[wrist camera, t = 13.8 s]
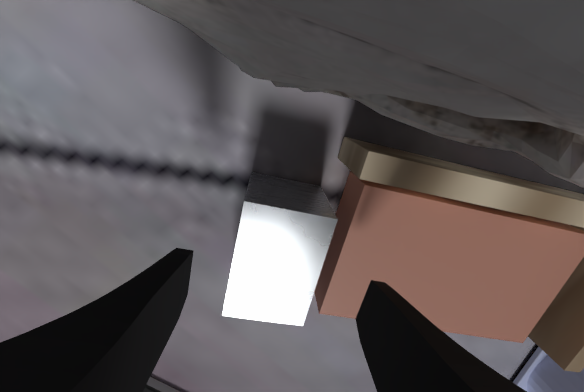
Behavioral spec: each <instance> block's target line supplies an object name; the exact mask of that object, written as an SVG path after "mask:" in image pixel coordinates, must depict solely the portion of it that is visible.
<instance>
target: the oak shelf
mask: <svg viewBox="0 0 584 392" xmlns="http://www.w3.org/2000/svg"><path fill="white" fill-rule="evenodd" d="M338 159H339V160H340V161H341V162H342V163H343V164H344V165H346V166H347V167H348V168H349V169H350V170H351V171H352V172H353V173H354V174H355V175H356V176H357V177H358V178H359V179H362V180H366V181H371V182H376V183H380V184H385V185H389V186H394V187H399V188H403V189H408V190H412V191H417V192H422V193H426V194H431V195H435V196H440V197H445V198H449V199H454V200H458V201H463V202H468V203H472V204H477V205H481V206H486V207H491V208H495V209H500V210H504V211H509V212H514V213H518V214H523V215H527V216H532V217H537V218H541V219H546V220H550V221H555V222H560V223H564V224H569V225H572V226H573V227H575V228H577V229H580V230H582V231H584V194H582V193H577V192H573V191H569V190H565V189H561V188H556V187H552V186H548V185H544V184H540V183H536V182H531V181H527V180H523V179H519V178H515V177H511V176H506V175H502V174H498V173H494V172H490V171H486V170H481V169H477V168H473V167H469V166H465V165H460V164H456V163H452V162H448V161H444V160H440V159H435V158H431V157H427V156H423V155H419V154H415V153H410V152H406V151H402V150H398V149H394V148H389V147H385V146H381V145H377V144H373V143H369V142H364V141H360V140H356V139H352V138H348V137H344V139H343V142H342V145H341V149H340V152H339V155H338ZM528 337H529V338H530V339H531V340H532V341H533V342H535V343H536V344H537V345H538V346H539V347H540V348H541V349H542V350H543V351H544V352H545V353H546V354H547V355H548V356H549V357H550V358H551V359H552V360H554V361H555V362H556V363H557V364H558V365H559V366H560V367H561V368H562V369H563V370H564V371H572V372H581V371H582V370H583V368H584V257H583V259H582V260H581V261H580V263H579V264H578V266H577V267H576V268H575V270H574V271H573V273H572V274H571V276H570V277H569V278H568V280H567V281H566V283H565V284H564V285H563V287H562V288H561V290H560V291H559V293H558V294H557V295H556V297H555V298H554V300H553V301H552V302H551V304H550V305H549V307H548V308H547V310H546V311H545V312H544V314H543V315H542V317H541V318H540V320H539V321H538V322H537V324H536V325H535V327H534V328H533V329H532V331H531V332H530V334H529V335H528Z"/></svg>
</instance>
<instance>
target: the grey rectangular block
mask: <svg viewBox="0 0 584 392" xmlns="http://www.w3.org/2000/svg"><path fill="white" fill-rule="evenodd" d="M337 220H338V219H337V217H336V215H335V213H334V211H333V209H332V207H331V205H330V203H329V201H328V200H327V198H326V196H325V194H324V192H323V190H322V188H321V186H317V185H312V184H308V183H303V182H298V181H293V180H289V179H284V178H279V177H274V176H270V175H265V174H260V173H255V172H252V173H251V177H250V181H249V184H248V188H247V192H246V196H245V200H244V204H243V209H242V214H241V220H240V225H239V230H238V235H237V241H236V246H235V251H234V256H233V261H232V267H231V272H230V277H229V282H228V287H227V293H226V298H225V303H224V308H223V314H222V316H229V317H237V318H245V319H252V320H260V321H268V322H276V323H283V324H291V325H299V326H303V325H304V322H305V318H306V315H307V312H308V309H309V306H310V303H311V300H312V297H313V294H314V291H315V288H316V285H317V282H318V279H319V276H320V272H321V269H322V266H323V263H324V260H325V257H326V254H327V251H328V248H329V245H330V242H331V239H332V236H333V233H334V230H335V226H336V223H337Z"/></svg>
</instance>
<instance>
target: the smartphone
mask: <svg viewBox="0 0 584 392" xmlns="http://www.w3.org/2000/svg"><path fill="white" fill-rule="evenodd" d="M143 392H180V391H178V390H176V389H174V388H172V387H170V386H168V385H166V384H164V383H162V382H160V381H158V380H156V379H154V378H152V377H150V378H149V380H148V382H147V384H146V386H145V388H144V391H143Z"/></svg>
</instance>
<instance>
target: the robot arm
mask: <svg viewBox="0 0 584 392" xmlns="http://www.w3.org/2000/svg"><path fill="white" fill-rule="evenodd" d="M192 257H193V251H192V250H186V249H180V248H176V249H174V250H173V251H171V252H170V253H169V254H167V255H166V256H164V257H163V258H162V259H160V260H159V261H157V262H156V263H155V264H153V265H152V266H150V267H149V268H147V269H146V270H144V271H143V272H141V273H140V274H138V275H137V276H135V277H134V278H132V279H131V280H129V281H128V282H126V283H124V284H123V285H121V286H119V287H118V288H116V289H114V290H113V291H111V292H109V293H108V294H106V295H104V296H102V297H101V298H99V299H97V300H95V301H93V302H91V303H89V304H87V305H85V306H83V307H81V308H79V309H78V310H76V311H73V312H71V313H69V314H67V315H65V316H63V317H60V318H58V319H56V320H54V321H51V322H49V323H47V324H44V325H42V326H40V327H38V328H35V329H33V330H31V331H29V332H26V333H24V334H21V335H19V336H16V337H14V338H11V339H9V340H6V341H3V342H1V343H0V392H143V391H144V388H145V386H146V384H147V382H148V380H149V378H150V376H151V374H152V372H153V370H154V368H155V366H156V364H157V362H158V360H159V358H160V356H161V354H162V352H163V350H164V348H165V346H166V344H167V342H168V340H169V338H170V336H171V334H172V332H173V330H174V328H175V325H176V323H177V321H178V319H179V317H180V314H181V311H182V308H183V306H184V303H185V300H186V297H187V294H188V287H189V280H190V272H191V265H192ZM356 323H357V328H358V333H359V338H360V342H361V345H362V349H363V352H364V355H365V358H366V361H367V363H368V366H369V369H370V372H371V375H372V378H373V381H374V384H375V387H376V389H377V392H584V368H583V370H582V371H581V372H572V371H564V370H563V369H562V368H561V367H560V366H559V365H558V364H557V363H556V362H555V361H554V360H552V359H551V358H550V357H549V356H548V355H547V354H546V353H545V352H544V351H543V350H542V349H541V348H540V347H538V348H537V349H536V351H535V352H534V353H533V355H532V356H531V358H530V359H529V360H528V362H527V363H526V364H525V366H524V367H523V369H522V370H521V371H520V373H519V374H518V375H517V377H516V378H515V380H514V381H513V382H511V381H510V380H508V379H507V378H505V377H503V376H502V375H500V374H499V373H497V372H496V371H494V370H493V369H492V368H490V367H489V366H487V365H486V364H484V363H483V362H482V361H480V360H479V359H478V358H476V357H475V356H473V355H472V354H471V353H469V352H468V351H467V350H465V349H464V348H463V347H461V346H460V345H459V344H457V343H456V342H455V341H454V340H452V339H451V338H450V337H449V336H447V335H446V334H445V333H444V332H443V331H441V330H440V329H439V328H438V327H437V326H435V325H434V324H433V323H432V322H431V321H429V320H428V319H427V318H426V317H425V316H424V315H423V314H421V313H420V312H419V311H418V310H417V309H416V308H415V307H413V306H412V305H411V304H410V303H409V302H408V301H407V300H406V299H404V298H403V297H402V296H401V295H400V294H399V293H398V292H396V291H395V290H394V289H393V288H392V287H390V286H389V285H388V284H386V283H385V282H380V281H374V280H371V281H370V284H369V286H368V289H367V291H366V294H365V296H364V299H363V301H362V304H361V306H360V309H359V311H358V314H357V316H356Z"/></svg>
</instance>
